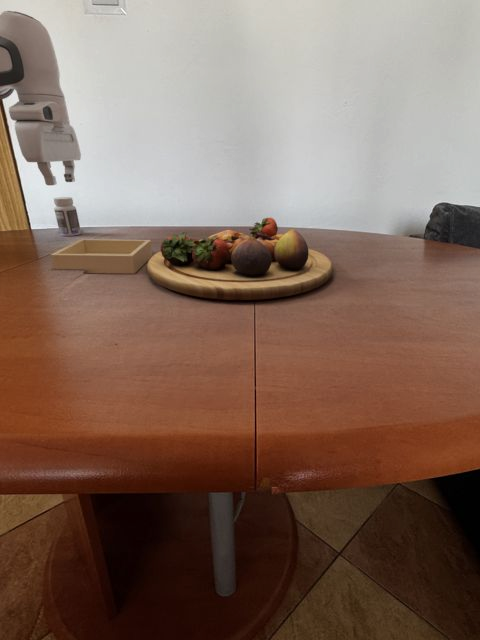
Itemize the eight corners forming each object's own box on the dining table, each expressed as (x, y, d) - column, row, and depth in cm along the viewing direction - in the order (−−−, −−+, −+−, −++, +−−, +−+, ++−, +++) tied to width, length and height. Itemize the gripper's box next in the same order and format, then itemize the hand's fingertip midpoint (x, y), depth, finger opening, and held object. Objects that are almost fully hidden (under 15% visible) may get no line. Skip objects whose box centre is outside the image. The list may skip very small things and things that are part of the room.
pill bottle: (80, 232, 95) (73, 196, 91) (81, 235, 92) (74, 198, 88) (60, 233, 93) (51, 197, 90) (60, 236, 90) (51, 199, 86)
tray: (54, 272, 64) (50, 254, 63) (84, 254, 75) (81, 238, 74) (134, 273, 65) (132, 255, 63) (152, 255, 76) (150, 240, 74)
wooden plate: (229, 243, 87) (228, 205, 83) (360, 267, 71) (367, 221, 67) (108, 275, 63) (99, 224, 60) (262, 322, 47) (263, 256, 43)
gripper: (53, 116, 90) (67, 180, 96) (2, 108, 72) (23, 187, 78) (80, 117, 90) (92, 180, 96) (35, 108, 72) (54, 187, 78)
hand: (61, 183), depth 87 cm, fingers open, 8 cm apart
